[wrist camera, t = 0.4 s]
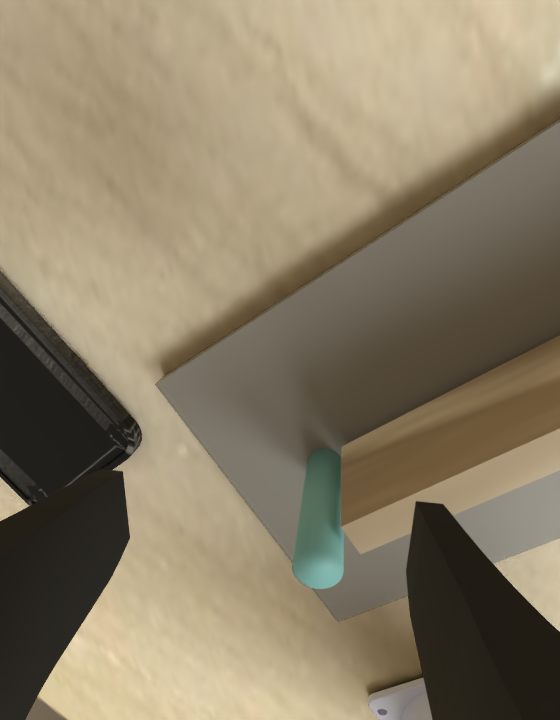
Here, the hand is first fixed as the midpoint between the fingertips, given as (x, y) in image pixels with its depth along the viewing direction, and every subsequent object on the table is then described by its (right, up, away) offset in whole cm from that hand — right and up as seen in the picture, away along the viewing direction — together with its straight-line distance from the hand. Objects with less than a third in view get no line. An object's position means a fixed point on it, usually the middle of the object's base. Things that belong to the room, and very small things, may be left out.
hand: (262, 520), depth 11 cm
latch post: (+3, 0, +10) cm, 10 cm away
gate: (+9, +3, +6) cm, 11 cm away
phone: (-13, +4, +11) cm, 18 cm away
